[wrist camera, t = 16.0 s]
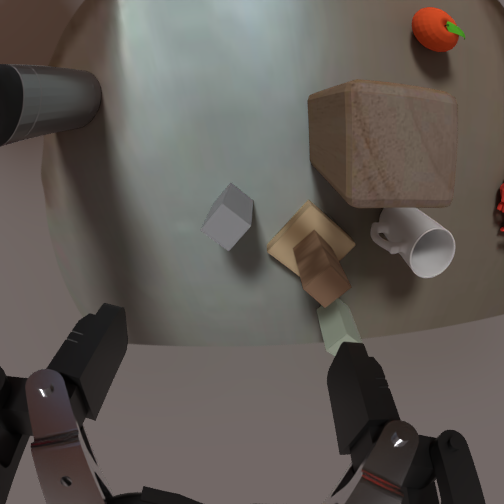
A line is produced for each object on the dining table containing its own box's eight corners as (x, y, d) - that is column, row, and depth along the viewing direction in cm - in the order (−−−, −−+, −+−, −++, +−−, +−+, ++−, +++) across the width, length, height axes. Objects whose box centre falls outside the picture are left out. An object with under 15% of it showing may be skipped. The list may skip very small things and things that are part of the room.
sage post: (331, 321, 51) (343, 361, 42) (316, 309, 50) (325, 350, 41) (348, 306, 50) (363, 346, 41) (333, 294, 49) (346, 334, 40)
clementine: (447, 24, 28) (473, 16, 22) (448, 62, 31) (475, 59, 25) (403, 7, 28) (425, -6, 22) (403, 46, 31) (427, 38, 25)
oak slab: (310, 276, 48) (312, 286, 45) (267, 243, 46) (267, 252, 43) (350, 236, 45) (355, 244, 42) (307, 198, 42) (311, 204, 40)
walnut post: (311, 265, 44) (324, 308, 35) (292, 248, 42) (303, 288, 34) (332, 247, 42) (351, 287, 34) (314, 229, 41) (330, 266, 32)
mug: (418, 199, 41) (460, 228, 30) (412, 239, 44) (448, 277, 33) (358, 196, 41) (390, 226, 31) (354, 239, 44) (381, 280, 34)
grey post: (235, 221, 44) (228, 251, 35) (213, 203, 43) (200, 230, 34) (253, 200, 42) (251, 225, 33) (230, 182, 41) (222, 203, 32)
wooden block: (377, 96, 35) (462, 93, 17) (377, 166, 39) (455, 211, 21) (306, 93, 36) (347, 77, 18) (309, 166, 40) (348, 212, 22)
